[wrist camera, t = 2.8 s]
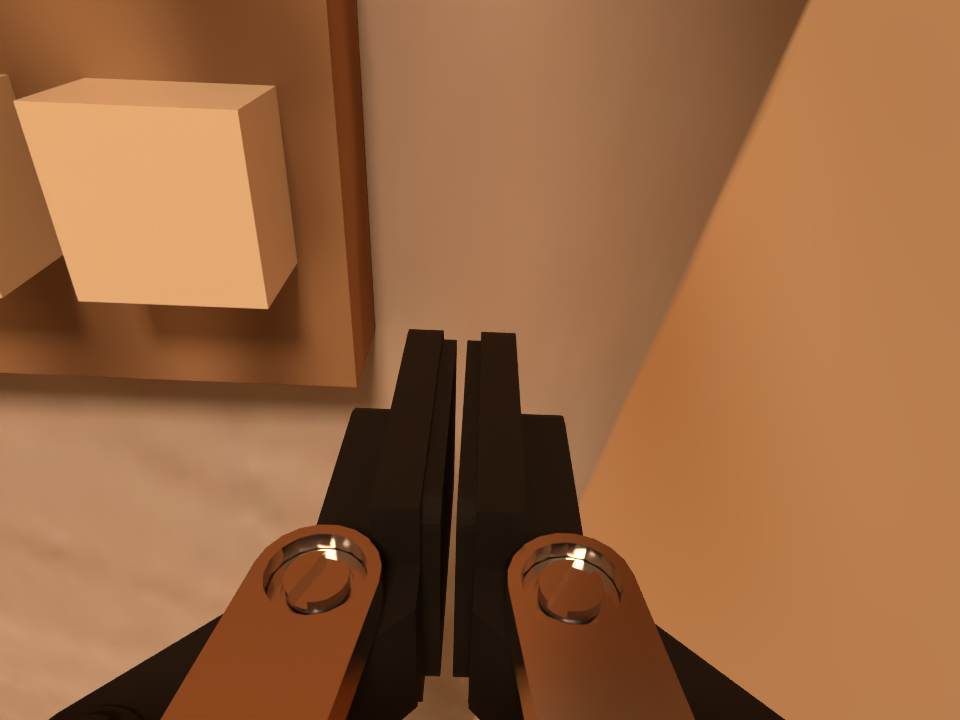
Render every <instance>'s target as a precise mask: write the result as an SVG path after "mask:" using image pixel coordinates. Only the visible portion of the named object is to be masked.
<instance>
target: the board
mask: <svg viewBox="0 0 960 720" xmlns="http://www.w3.org/2000/svg"><path fill="white" fill-rule="evenodd" d="M0 74H2V75H8V76H9V79H10V83H11V86H12V89H13V92H14V95H15V98H16V100H17V99H20V98H23V97H27V96H30V95H33V94H36V93H39V92H42V91H45V90H48V89H51V88H55V87H58V86H61V85H64V84H67V83H70V82H73V81H76V80H79V79H83V78H99V79H124V80H148V81H172V82H196V83H221V84H245V85H269V86H276V92H277V100H278V108H279V116H280V124H281V133H282V141H283V149H284V157H285V165H286V174H287V182H288V190H289V198H290V206H291V214H292V223H293V231H294V239H295V247H296V255H297V264H296V266H295V267H294V269H293V270H292V272H291V274H290V275H289V277H288V278H287V280H286V282H285V283H284V285H283V286H282V288H281V290H280V291H279V293H278V294H277V296H276V297H275V299H274V301H273V302H272V304H271V305H270V307H269V309H254V308H229V307H205V306H181V305H156V304H132V303H108V302H83V301H78V299H77V296H76V293H75V289H74V286H73V283H72V280H71V277H70V274H69V271H68V268H67V265H66V262H65V259H64V256H63V255H62V256H61V257H59V258H58V259H57V260H55V261H54V262H52V263H51V264H50V265H48V266H47V267H45V268H44V269H43V270H41V271H40V272H38V273H37V274H36V275H34V276H33V277H31V278H30V279H29V280H27V281H26V282H24V283H23V284H22V285H20V286H19V287H17V288H16V289H15V290H13V291H12V292H10V293H9V294H8V295H6V296H5V297H3V298H0V373H18V374H42V375H67V376H91V377H115V378H140V379H164V380H188V381H213V382H237V383H262V384H286V385H310V386H335V387H357V385H358V382H359V379H360V376H361V372H362V369H363V366H364V363H365V360H366V357H367V353H368V350H369V347H370V344H371V341H372V338H373V335H374V331H375V317H374V299H373V282H372V264H371V247H370V229H369V212H368V195H367V177H366V160H365V142H364V125H363V108H362V90H361V73H360V55H359V38H358V20H357V3H356V0H0Z"/></svg>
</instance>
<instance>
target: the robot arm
mask: <svg viewBox="0 0 960 720" xmlns="http://www.w3.org/2000/svg"><path fill="white" fill-rule="evenodd" d="M456 359H457V340H444V331H443V330H416V329H409V331H408V335H407V339H406V344H405V348H404V353H403V357H402V361H401V366H400V370H399V375H398V379H397V383H396V388H395V392H394V397H393V401H392V405H391V409H373V408H355V409H354V410H353V412H352V414H351V417H350V420H349V423H348V426H347V430H346V433H345V436H344V439H343V442H342V446H341V449H340V452H339V455H338V458H337V462H336V465H335V468H334V471H333V474H332V478H331V481H330V484H329V487H328V490H327V494H326V497H325V500H324V503H323V506H322V510H321V513H320V516H319V519H318V522H317V525H315V526H309V527H304V528H300V529H297V530H295V531H293V532H290V533H288V534H286V535H283V536H281V537H280V538H279V539H277V540H276V541H274V542H273V543H272V544H270V545H269V546H268V547H266V548H265V550H264V551H263V552H262V553H261V554H260V556H259V557H258V558H257V559H256V561H255V562H254V563H253V565H252V567H251V569H250V570H249V572H248V574H247V575H246V577H245V579H244V580H243V582H242V584H241V585H240V587H239V589H238V590H237V592H236V594H235V595H234V597H233V599H232V600H231V602H230V604H229V605H228V607H227V609H226V611H225V612H224V614H222V615H221V616H219V617H217V618H216V619H214V620H212V621H211V622H209V623H207V624H206V625H204V626H202V627H201V628H199V629H197V630H196V631H194V632H192V633H190V634H189V635H187V636H185V637H184V638H182V639H180V640H179V641H177V642H175V643H174V644H172V645H170V646H169V647H167V648H165V649H164V650H162V651H160V652H159V653H157V654H155V655H154V656H152V657H150V658H149V659H147V660H145V661H144V662H142V663H140V664H139V665H137V666H135V667H134V668H132V669H130V670H129V671H127V672H125V673H124V674H122V675H120V676H119V677H117V678H115V679H114V680H112V681H110V682H109V683H107V684H105V685H104V686H102V687H100V688H99V689H97V690H95V691H94V692H92V693H90V694H89V695H87V696H85V697H84V698H82V699H80V700H79V701H77V702H75V703H74V704H72V705H70V706H69V707H67V708H65V709H64V710H62V711H60V712H58V713H57V714H56V715H54V716H53V717H52V718H50V719H49V720H402V719H403V718H404V717H406V716H407V715H408V714H409V713H410V712H412V711H413V710H414V709H415V708H416V707H417V705H418V702H422V701H423V691H424V680H425V676H440V671H441V658H442V644H443V630H444V616H445V602H446V588H447V574H448V560H449V546H450V532H451V518H452V504H453V490H454V460H455V409H456ZM453 677H469V696H468V703H469V709H470V710H471V711H472V712H473V713H474V714H475V715H476V716H477V717H478V719H480V720H785V719H783V718H782V717H781V716H779V715H778V714H776V713H775V712H774V711H772V710H771V709H770V708H768V707H767V706H766V705H764V704H763V703H762V702H760V701H759V700H757V699H756V698H755V697H754V696H752V695H750V694H749V693H748V692H747V691H745V690H744V689H743V688H741V687H740V686H739V685H737V684H736V683H734V682H733V681H732V680H730V679H729V678H728V677H726V676H725V675H724V674H722V673H721V672H720V671H718V670H717V669H715V668H714V667H713V666H711V665H710V664H708V663H707V662H706V661H705V660H703V659H702V658H700V657H699V656H698V655H696V654H695V653H694V652H692V651H691V650H690V649H688V648H687V647H686V646H684V645H683V644H682V643H680V642H679V641H677V640H676V639H675V638H673V637H672V636H671V635H669V634H668V633H667V632H665V631H664V630H662V629H661V628H660V627H658V626H657V625H656V624H655V623H654V621H653V619H652V616H651V614H650V611H649V609H648V607H647V605H646V602H645V600H644V597H643V595H642V592H641V590H640V588H639V586H638V583H637V581H636V578H635V576H634V574H633V572H632V571H631V569H630V568H629V566H628V565H627V563H626V561H625V560H624V559H623V558H622V557H621V556H620V555H618V554H617V553H616V552H615V551H614V550H613V549H612V548H610V547H608V546H607V545H605V544H603V543H601V542H599V541H597V540H595V539H592V538H589V537H585V536H583V532H582V526H581V519H580V514H579V507H578V501H577V495H576V489H575V482H574V476H573V470H572V464H571V458H570V452H569V445H568V439H567V433H566V427H565V422H564V418H563V416H561V415H534V414H521V406H520V391H519V377H518V362H517V347H516V334H515V333H495V332H481V341H470V340H468V341H467V356H466V372H465V388H464V404H463V420H462V436H461V452H460V468H459V484H458V501H457V525H456V566H455V609H454V652H453Z"/></svg>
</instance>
